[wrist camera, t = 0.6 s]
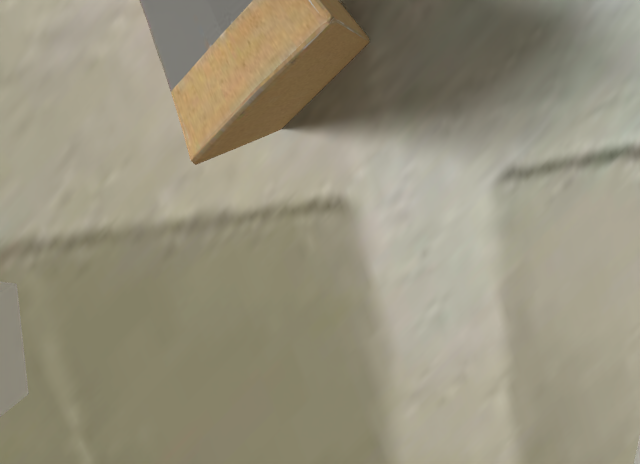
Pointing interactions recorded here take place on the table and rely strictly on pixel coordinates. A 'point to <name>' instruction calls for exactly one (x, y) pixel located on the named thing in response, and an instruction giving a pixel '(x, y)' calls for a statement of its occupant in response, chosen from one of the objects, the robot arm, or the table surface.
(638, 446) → the robot arm
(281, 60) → the sandwich container
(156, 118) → the table surface
